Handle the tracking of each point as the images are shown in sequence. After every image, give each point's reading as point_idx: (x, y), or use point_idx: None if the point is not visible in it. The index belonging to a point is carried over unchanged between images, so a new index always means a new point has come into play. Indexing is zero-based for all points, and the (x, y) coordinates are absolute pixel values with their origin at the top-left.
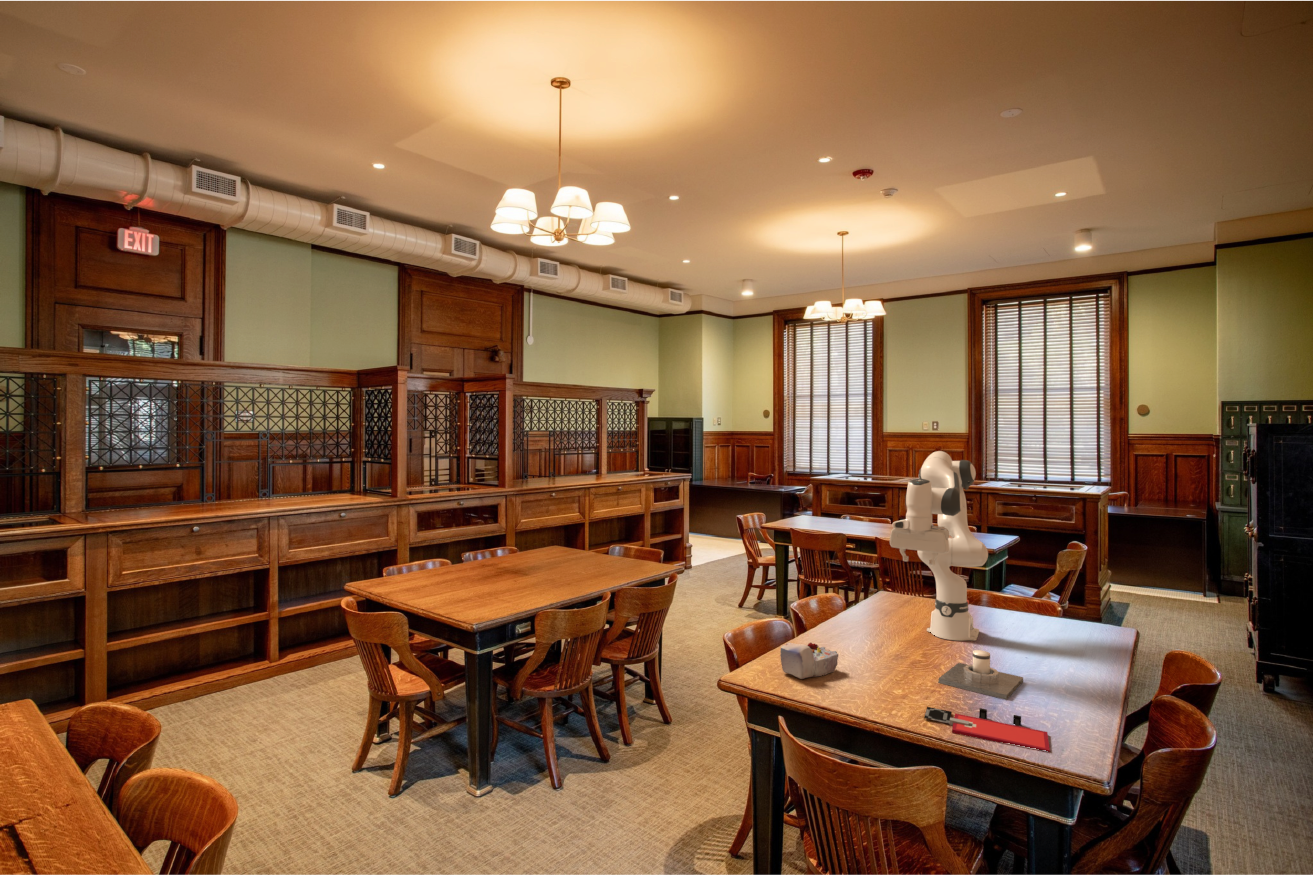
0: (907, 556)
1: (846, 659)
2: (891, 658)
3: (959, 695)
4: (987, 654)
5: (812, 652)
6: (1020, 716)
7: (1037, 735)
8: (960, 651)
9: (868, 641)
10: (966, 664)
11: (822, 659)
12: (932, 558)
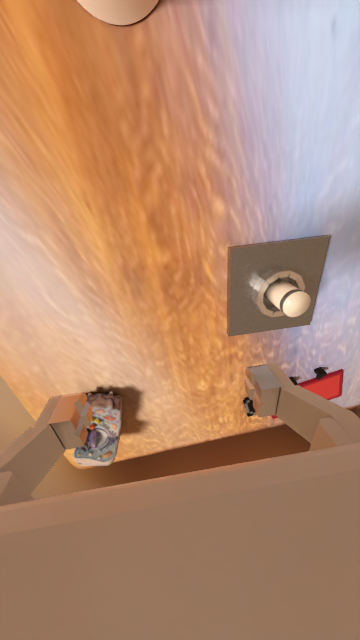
0: (75, 432)
1: (93, 350)
2: (131, 295)
3: (258, 348)
4: (306, 306)
5: (116, 452)
6: (326, 373)
7: (334, 382)
8: (198, 130)
9: (33, 236)
10: (243, 247)
11: (119, 429)
12: (290, 426)
